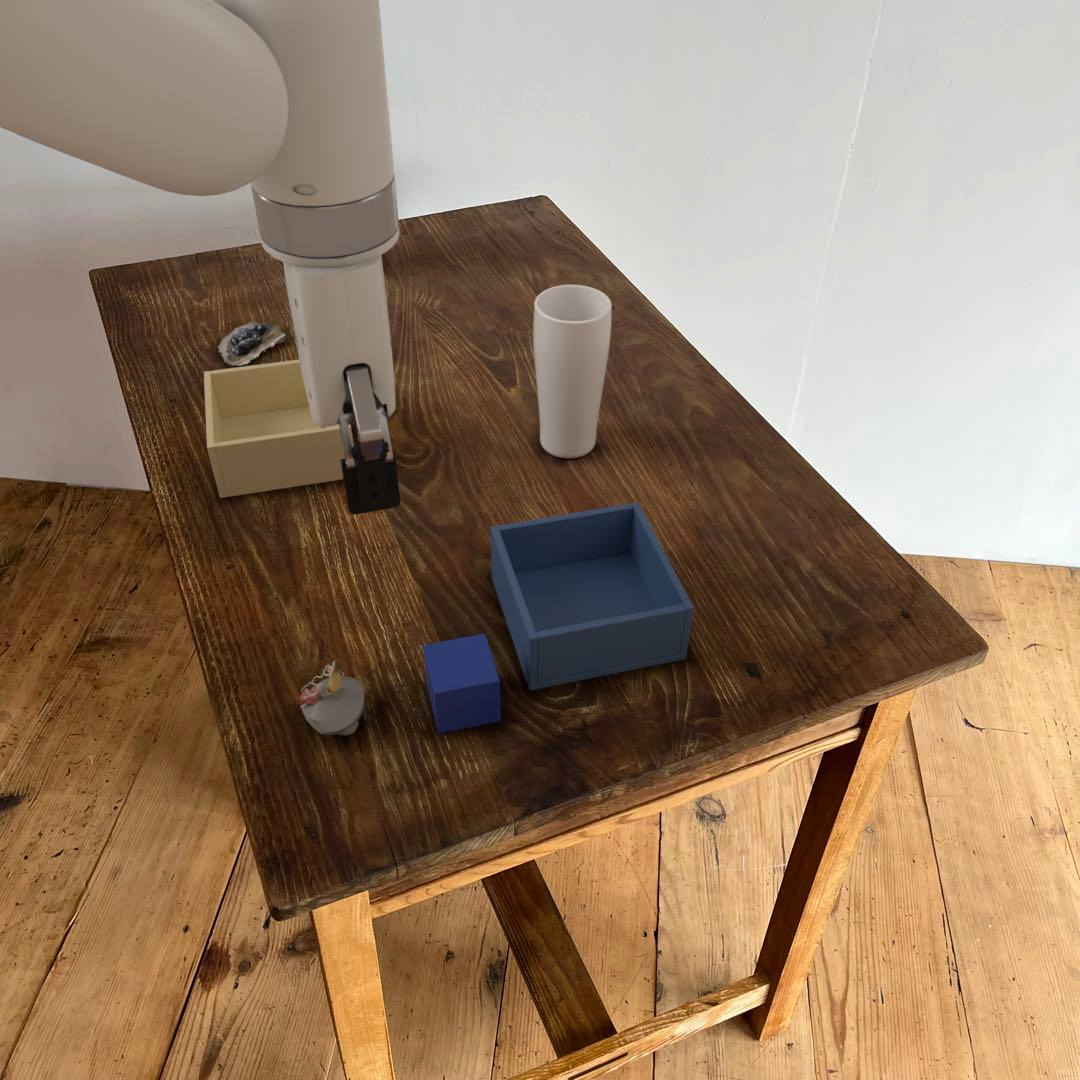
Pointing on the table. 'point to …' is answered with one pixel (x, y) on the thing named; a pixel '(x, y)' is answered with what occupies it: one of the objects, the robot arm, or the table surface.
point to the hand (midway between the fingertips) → (362, 461)
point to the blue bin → (588, 595)
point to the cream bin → (266, 431)
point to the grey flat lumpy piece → (249, 342)
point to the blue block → (462, 683)
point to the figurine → (333, 702)
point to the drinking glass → (570, 366)
